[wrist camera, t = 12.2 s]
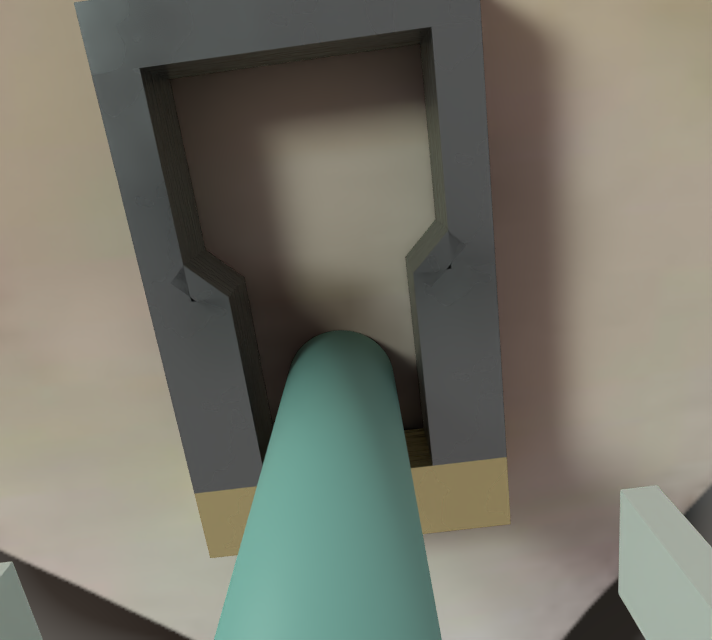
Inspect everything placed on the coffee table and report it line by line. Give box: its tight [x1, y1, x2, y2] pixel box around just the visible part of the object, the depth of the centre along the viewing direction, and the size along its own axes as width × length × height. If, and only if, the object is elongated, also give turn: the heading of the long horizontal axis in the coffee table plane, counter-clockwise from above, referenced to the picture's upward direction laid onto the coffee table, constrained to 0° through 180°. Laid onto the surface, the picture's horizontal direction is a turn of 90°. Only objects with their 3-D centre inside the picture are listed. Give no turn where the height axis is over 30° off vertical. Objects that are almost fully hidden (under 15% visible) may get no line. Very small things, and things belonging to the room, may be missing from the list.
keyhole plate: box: [74, 0, 511, 558], centre depth 21 cm, size 20×12×3 cm, turn 7°
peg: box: [214, 330, 442, 640], centre depth 16 cm, size 4×4×16 cm
